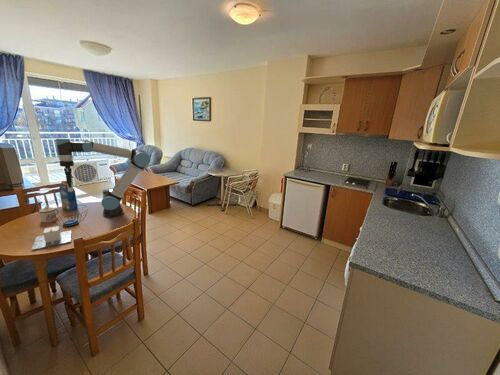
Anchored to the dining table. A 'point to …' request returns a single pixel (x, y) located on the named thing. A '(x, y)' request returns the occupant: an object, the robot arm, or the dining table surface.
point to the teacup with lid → (48, 214)
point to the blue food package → (67, 197)
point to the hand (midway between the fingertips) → (71, 189)
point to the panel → (41, 243)
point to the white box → (52, 234)
